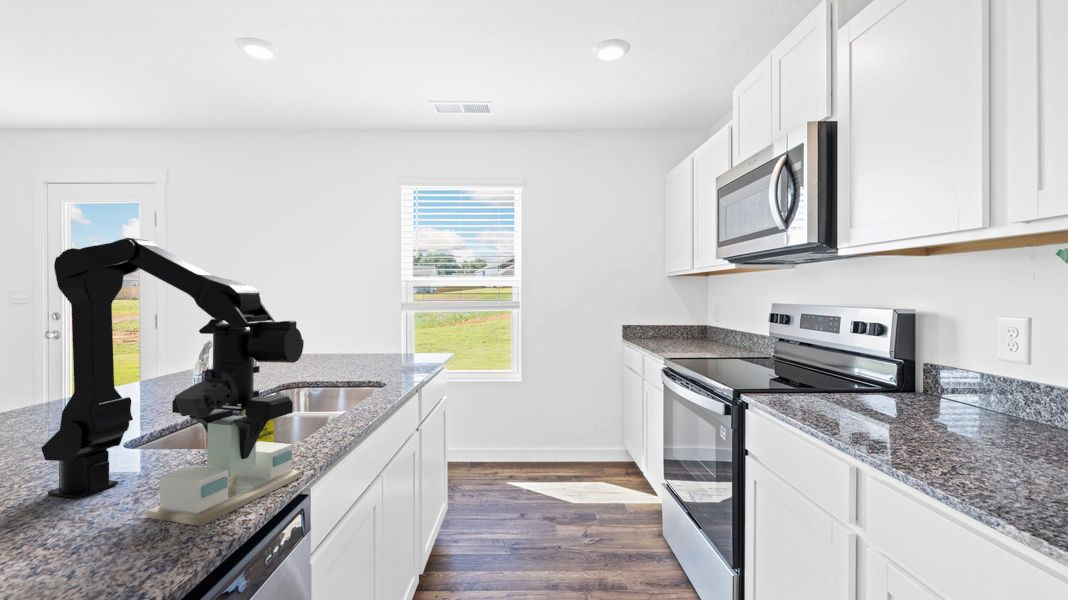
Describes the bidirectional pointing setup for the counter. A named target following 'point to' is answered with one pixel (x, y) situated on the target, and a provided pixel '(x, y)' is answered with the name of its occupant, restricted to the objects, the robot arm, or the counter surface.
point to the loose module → (227, 447)
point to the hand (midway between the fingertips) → (232, 457)
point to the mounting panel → (227, 506)
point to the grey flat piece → (232, 491)
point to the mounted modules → (219, 479)
